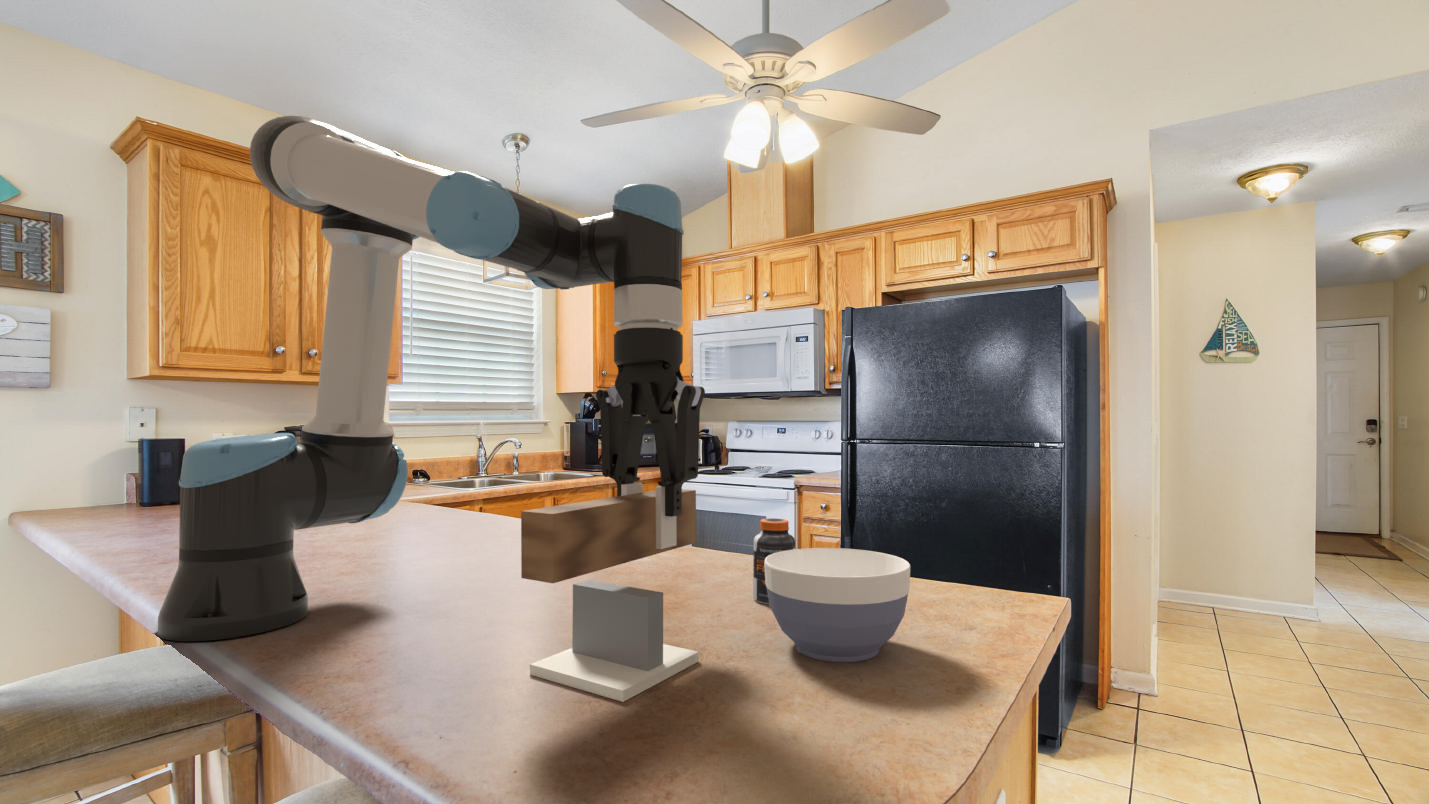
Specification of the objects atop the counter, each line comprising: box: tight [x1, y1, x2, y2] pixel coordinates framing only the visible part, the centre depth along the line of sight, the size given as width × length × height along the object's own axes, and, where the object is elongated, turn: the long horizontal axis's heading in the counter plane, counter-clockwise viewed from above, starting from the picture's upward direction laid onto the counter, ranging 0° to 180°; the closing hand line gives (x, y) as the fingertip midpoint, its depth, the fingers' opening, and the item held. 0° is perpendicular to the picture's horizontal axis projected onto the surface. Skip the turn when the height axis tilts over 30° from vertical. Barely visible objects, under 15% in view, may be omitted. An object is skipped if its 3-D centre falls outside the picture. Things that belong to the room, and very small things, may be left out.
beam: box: [520, 488, 697, 584], centre depth 68 cm, size 22×4×6 cm, turn 147°
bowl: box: [764, 547, 911, 663], centre depth 73 cm, size 16×16×10 cm
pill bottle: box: [752, 517, 796, 605], centre depth 93 cm, size 6×6×11 cm
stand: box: [529, 579, 700, 703], centre depth 67 cm, size 12×12×8 cm
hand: (648, 544), depth 72 cm, fingers closed on beam, 4 cm apart
